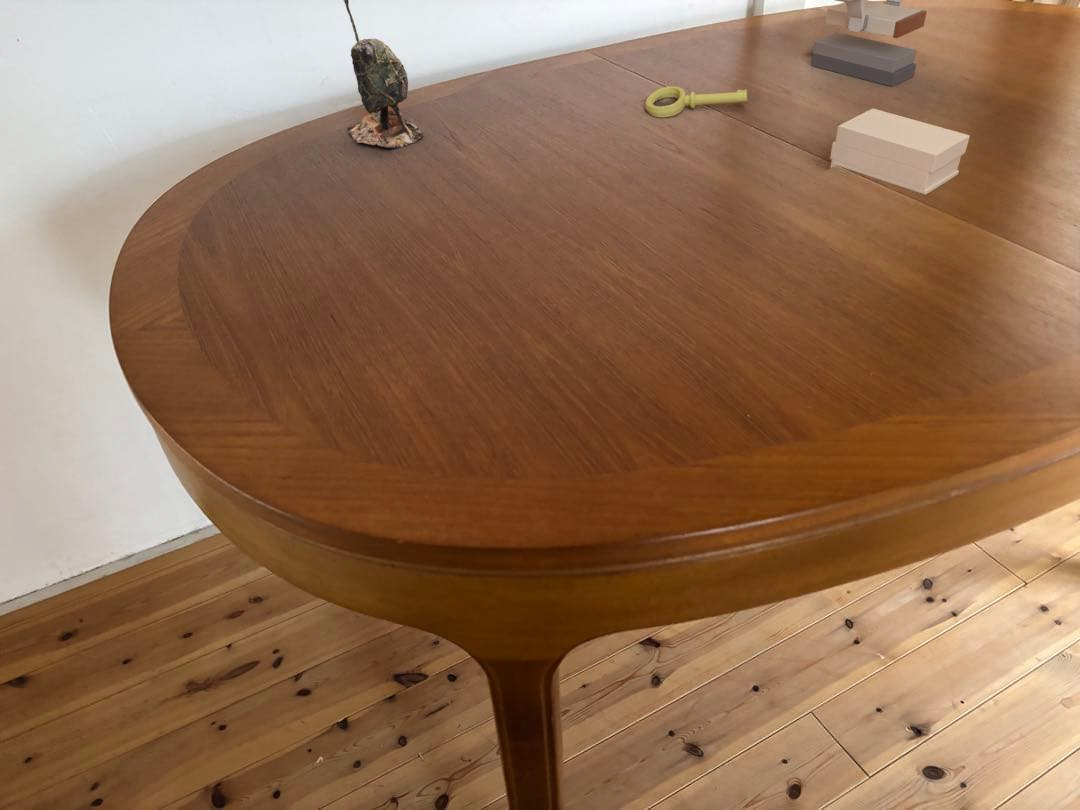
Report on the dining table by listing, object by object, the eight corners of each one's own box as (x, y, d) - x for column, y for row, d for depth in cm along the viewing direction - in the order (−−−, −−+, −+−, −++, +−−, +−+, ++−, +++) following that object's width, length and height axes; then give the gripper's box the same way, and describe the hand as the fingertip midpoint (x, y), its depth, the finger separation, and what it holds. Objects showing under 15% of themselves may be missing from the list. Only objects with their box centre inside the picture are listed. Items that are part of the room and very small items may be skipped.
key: (751, 111, 106) (753, 93, 104) (649, 119, 105) (650, 102, 104) (735, 90, 111) (737, 73, 110) (639, 98, 111) (639, 81, 110)
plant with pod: (366, 164, 99) (332, -29, 86) (343, 129, 107) (308, -52, 95) (435, 150, 101) (412, -41, 89) (407, 117, 109) (382, -62, 97)
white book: (923, 26, 110) (927, 10, 108) (897, 38, 107) (900, 22, 105) (852, 12, 116) (854, -3, 115) (825, 23, 113) (827, 8, 112)
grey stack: (914, 76, 112) (919, 50, 110) (892, 87, 110) (897, 60, 108) (832, 56, 120) (836, 31, 118) (810, 65, 117) (814, 40, 115)
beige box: (955, 187, 88) (970, 135, 85) (923, 208, 85) (936, 155, 82) (860, 157, 95) (870, 107, 91) (826, 175, 92) (835, 124, 88)
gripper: (868, -83, 95) (847, 49, 104) (965, -114, 105) (939, 9, 114) (818, -89, 99) (802, 39, 108) (917, -118, 109) (895, 1, 118)
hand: (873, 23), depth 111 cm, fingers closed on white book, 6 cm apart
